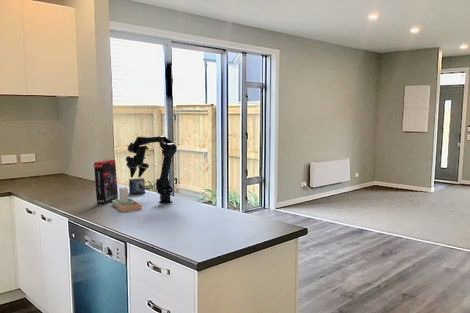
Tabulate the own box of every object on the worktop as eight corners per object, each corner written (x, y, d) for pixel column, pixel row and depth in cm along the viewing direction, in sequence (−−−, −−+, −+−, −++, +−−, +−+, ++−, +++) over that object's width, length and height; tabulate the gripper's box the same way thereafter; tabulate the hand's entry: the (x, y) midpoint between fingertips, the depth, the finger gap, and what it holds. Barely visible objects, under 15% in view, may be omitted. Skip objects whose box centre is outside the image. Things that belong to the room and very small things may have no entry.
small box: (130, 194, 286) (129, 180, 285) (129, 193, 292) (128, 179, 291) (145, 193, 290) (144, 179, 289) (143, 191, 296) (143, 178, 295)
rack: (141, 209, 241) (141, 204, 241) (122, 212, 235) (121, 207, 235) (130, 202, 261) (130, 197, 261) (112, 204, 255) (112, 200, 255)
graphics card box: (105, 204, 256) (103, 162, 253) (95, 204, 257) (93, 162, 254) (118, 198, 272) (116, 159, 269) (109, 198, 274) (107, 159, 271)
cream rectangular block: (126, 204, 256) (125, 187, 255) (128, 205, 251) (127, 188, 250) (120, 204, 254) (119, 187, 253) (122, 206, 250) (121, 189, 248)
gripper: (137, 153, 279) (133, 174, 280) (122, 151, 262) (117, 174, 262) (151, 156, 276) (146, 178, 276) (136, 155, 258) (131, 178, 258)
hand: (135, 177), depth 268 cm, fingers open, 9 cm apart
